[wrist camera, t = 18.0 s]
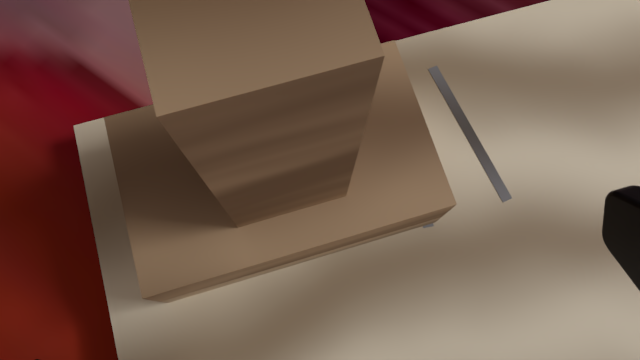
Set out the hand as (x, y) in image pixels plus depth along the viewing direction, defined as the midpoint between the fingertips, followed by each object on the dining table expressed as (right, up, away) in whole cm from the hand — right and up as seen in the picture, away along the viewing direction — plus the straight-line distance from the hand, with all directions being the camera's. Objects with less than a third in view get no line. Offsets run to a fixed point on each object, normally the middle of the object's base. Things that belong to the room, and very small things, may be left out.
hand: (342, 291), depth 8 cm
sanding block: (-2, +2, +12) cm, 12 cm away
